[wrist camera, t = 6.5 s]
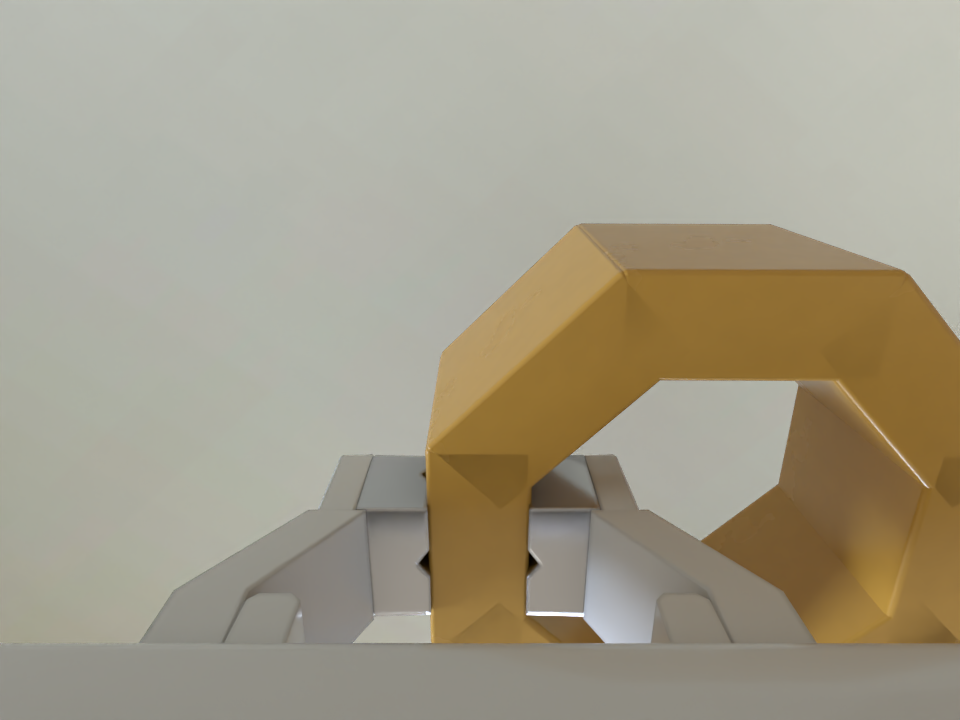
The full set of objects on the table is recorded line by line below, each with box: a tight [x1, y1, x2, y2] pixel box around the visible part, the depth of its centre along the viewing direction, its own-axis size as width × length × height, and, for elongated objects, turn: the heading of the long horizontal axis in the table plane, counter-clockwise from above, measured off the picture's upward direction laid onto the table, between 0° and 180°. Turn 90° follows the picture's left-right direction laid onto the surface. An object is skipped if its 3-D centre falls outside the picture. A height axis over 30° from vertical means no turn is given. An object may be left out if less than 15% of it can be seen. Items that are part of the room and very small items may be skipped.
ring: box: [425, 224, 960, 643], centre depth 10 cm, size 8×8×4 cm
